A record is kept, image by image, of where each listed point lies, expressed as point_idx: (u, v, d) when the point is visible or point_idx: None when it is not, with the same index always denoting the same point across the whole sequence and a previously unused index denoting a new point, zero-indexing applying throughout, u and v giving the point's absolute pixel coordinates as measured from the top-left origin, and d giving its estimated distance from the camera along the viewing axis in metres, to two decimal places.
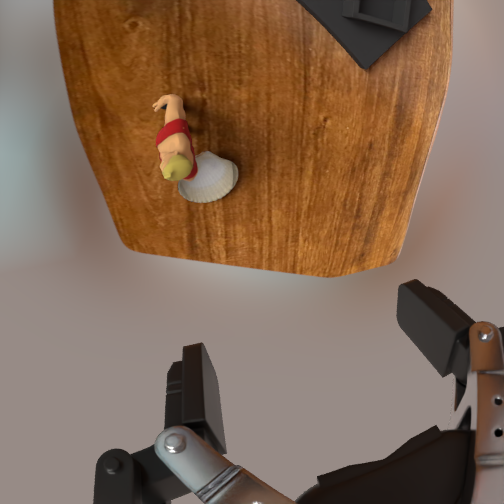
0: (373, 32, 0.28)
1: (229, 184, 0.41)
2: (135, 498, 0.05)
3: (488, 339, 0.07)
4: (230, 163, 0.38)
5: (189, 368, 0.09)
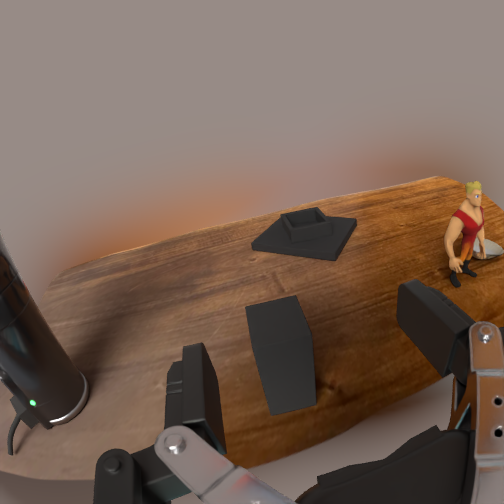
0: None
1: (476, 239, 0.43)
2: (135, 498, 0.05)
3: (488, 339, 0.07)
4: None
5: (189, 368, 0.09)
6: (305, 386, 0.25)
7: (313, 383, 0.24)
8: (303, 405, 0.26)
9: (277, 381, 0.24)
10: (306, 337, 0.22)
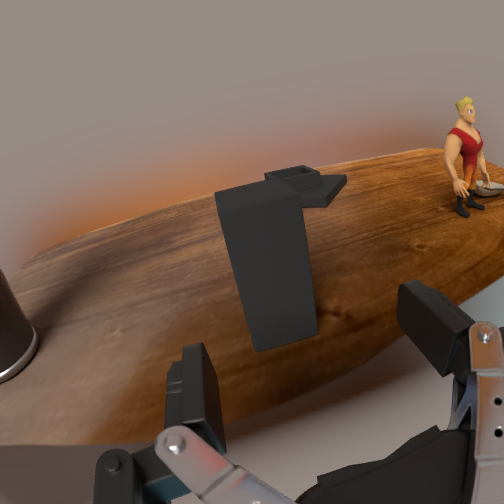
0: None
1: (477, 182, 0.39)
2: (135, 498, 0.05)
3: (488, 339, 0.07)
4: None
5: (189, 368, 0.09)
6: (300, 294, 0.19)
7: (311, 289, 0.19)
8: (300, 333, 0.20)
9: (258, 280, 0.18)
10: (292, 199, 0.16)
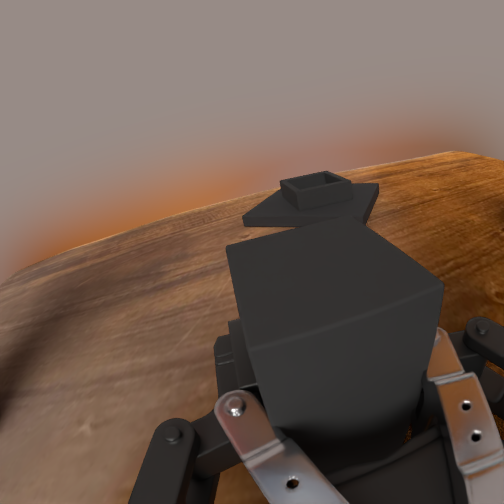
0: None
1: None
2: (186, 471, 0.06)
3: None
4: None
5: (238, 339, 0.10)
6: (387, 440, 0.08)
7: (406, 429, 0.08)
8: None
9: (323, 442, 0.07)
10: (429, 298, 0.06)
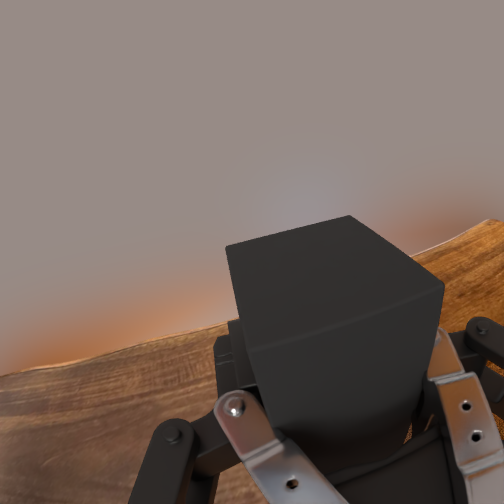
0: None
1: None
2: (185, 472, 0.06)
3: (434, 344, 0.07)
4: None
5: (237, 339, 0.10)
6: (387, 440, 0.08)
7: (406, 430, 0.08)
8: None
9: (323, 443, 0.07)
10: (430, 298, 0.06)
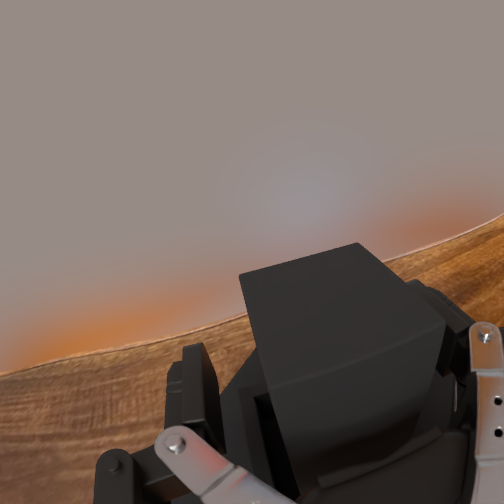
0: None
1: None
2: (135, 498, 0.05)
3: (488, 339, 0.07)
4: None
5: (189, 368, 0.09)
6: (389, 452, 0.09)
7: None
8: None
9: (331, 457, 0.08)
10: (432, 334, 0.06)
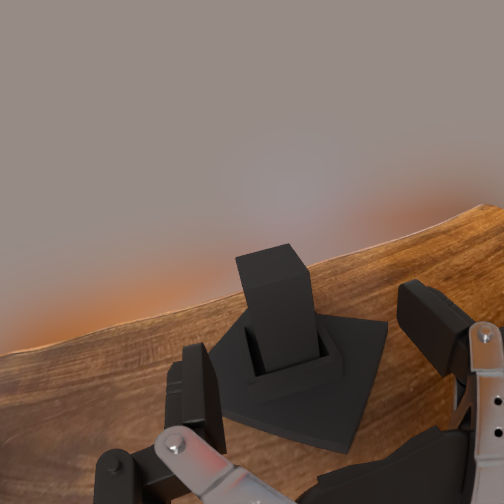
0: (336, 338, 0.27)
1: None
2: (135, 498, 0.05)
3: (488, 339, 0.07)
4: None
5: (189, 368, 0.09)
6: (307, 344, 0.22)
7: (316, 339, 0.22)
8: None
9: (274, 336, 0.22)
10: (303, 276, 0.20)
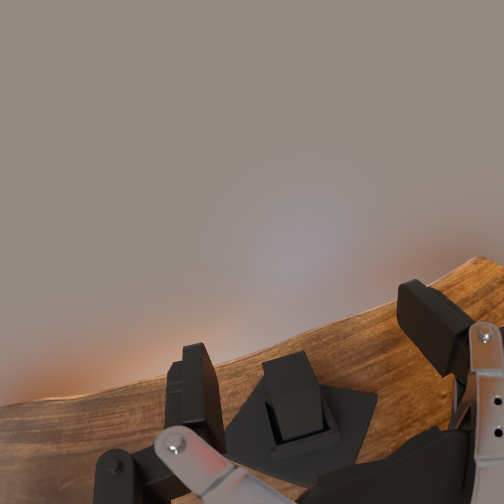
0: (336, 408, 0.32)
1: None
2: (135, 498, 0.05)
3: (488, 339, 0.07)
4: None
5: (189, 368, 0.09)
6: (314, 423, 0.28)
7: (321, 420, 0.28)
8: None
9: (291, 421, 0.27)
10: (315, 389, 0.25)
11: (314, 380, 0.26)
